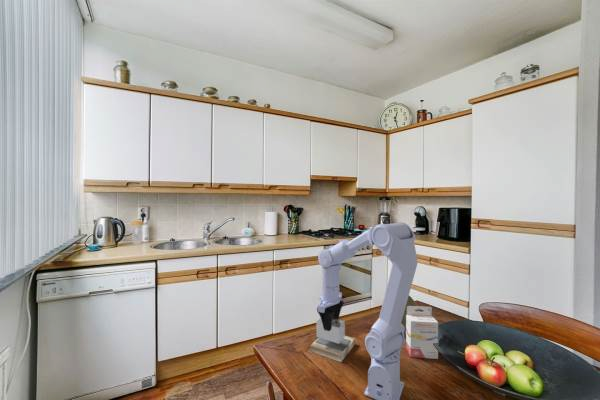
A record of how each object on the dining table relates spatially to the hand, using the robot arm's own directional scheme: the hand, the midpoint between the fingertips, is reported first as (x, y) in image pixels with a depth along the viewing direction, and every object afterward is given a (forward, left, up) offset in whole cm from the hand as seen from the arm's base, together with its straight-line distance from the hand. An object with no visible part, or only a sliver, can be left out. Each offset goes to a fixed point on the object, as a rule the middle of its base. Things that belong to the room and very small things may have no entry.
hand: (330, 326), depth 85 cm
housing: (0, 0, -3) cm, 3 cm away
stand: (+3, 0, -9) cm, 9 cm away
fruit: (+26, -18, -9) cm, 32 cm away
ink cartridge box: (+15, -26, -9) cm, 31 cm away
